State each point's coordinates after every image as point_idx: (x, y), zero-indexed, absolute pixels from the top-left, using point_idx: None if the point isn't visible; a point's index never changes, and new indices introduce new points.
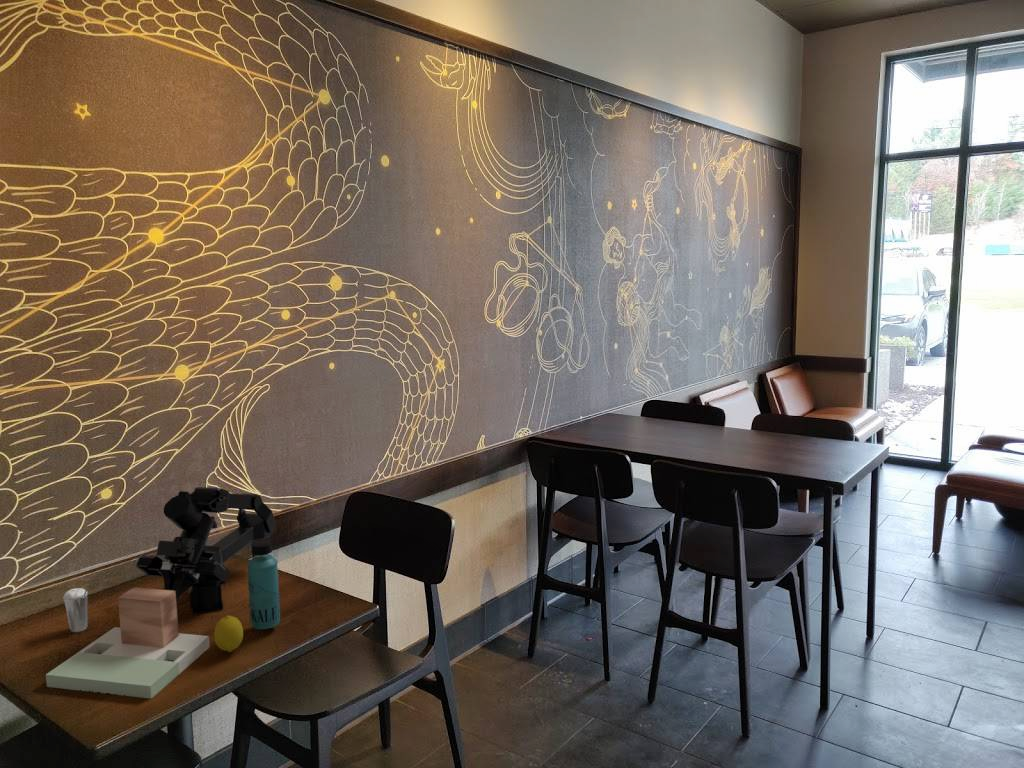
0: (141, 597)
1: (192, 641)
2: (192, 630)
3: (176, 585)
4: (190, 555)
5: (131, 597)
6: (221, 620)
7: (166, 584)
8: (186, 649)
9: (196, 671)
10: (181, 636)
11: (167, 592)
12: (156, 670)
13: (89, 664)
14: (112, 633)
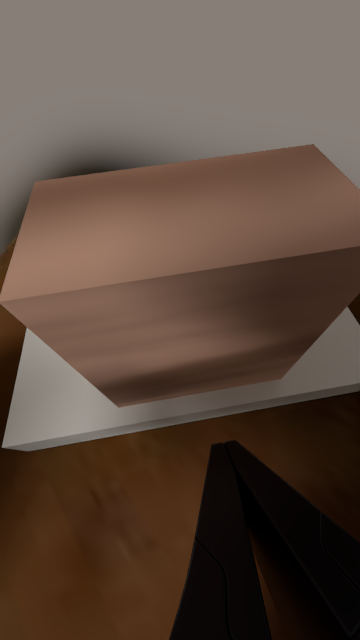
0: (185, 177)
1: (47, 392)
2: (166, 557)
3: (206, 594)
4: None
5: (243, 163)
6: None
7: (350, 563)
8: (42, 346)
9: (14, 334)
10: (105, 406)
11: (54, 261)
12: None
13: None
14: (346, 342)
